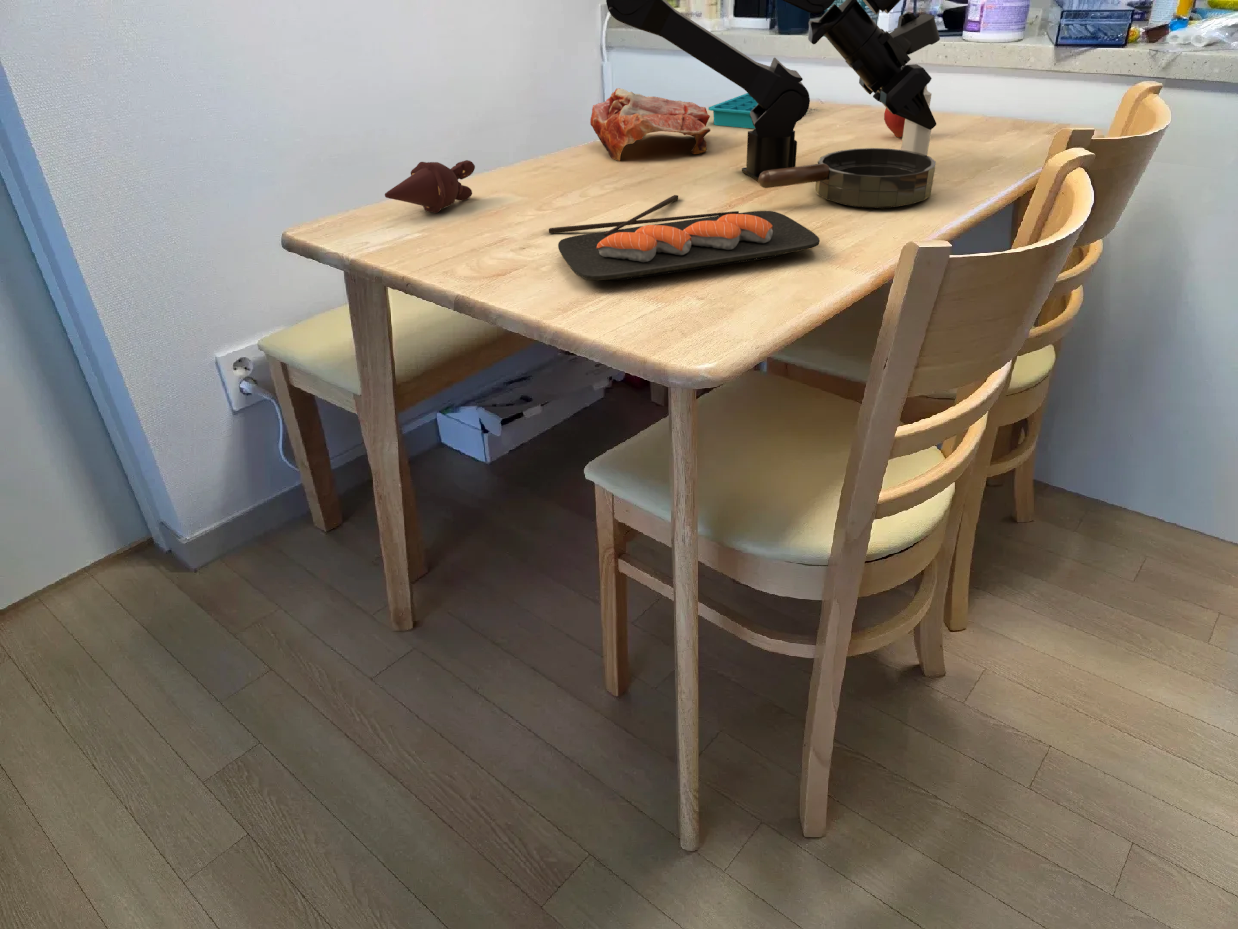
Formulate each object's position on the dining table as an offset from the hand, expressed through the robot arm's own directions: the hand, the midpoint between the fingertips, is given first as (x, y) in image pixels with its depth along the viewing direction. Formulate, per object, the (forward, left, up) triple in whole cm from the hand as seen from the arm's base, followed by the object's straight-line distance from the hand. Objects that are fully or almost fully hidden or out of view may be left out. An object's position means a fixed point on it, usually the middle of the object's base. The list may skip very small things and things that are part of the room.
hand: (928, 122), depth 120 cm
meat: (-31, +33, -7) cm, 46 cm away
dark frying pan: (-13, -9, -7) cm, 17 cm away
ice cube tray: (-5, +46, -7) cm, 47 cm away
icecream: (-71, +11, -7) cm, 72 cm away
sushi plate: (-45, -14, -7) cm, 48 cm away
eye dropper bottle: (-1, 0, -7) cm, 7 cm away
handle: (-25, -9, -4) cm, 27 cm away
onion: (+9, +19, -7) cm, 22 cm away
